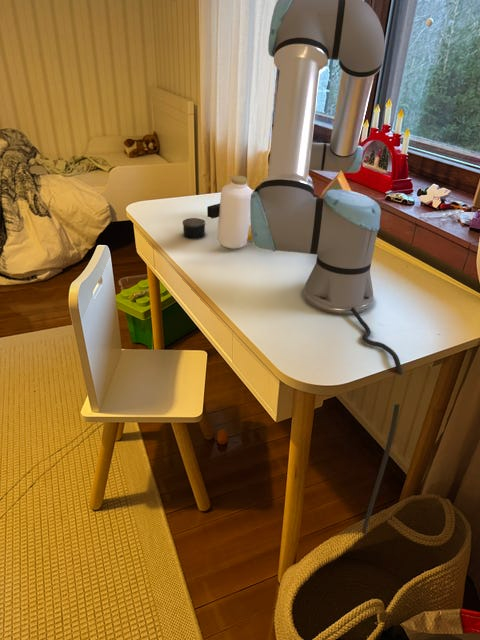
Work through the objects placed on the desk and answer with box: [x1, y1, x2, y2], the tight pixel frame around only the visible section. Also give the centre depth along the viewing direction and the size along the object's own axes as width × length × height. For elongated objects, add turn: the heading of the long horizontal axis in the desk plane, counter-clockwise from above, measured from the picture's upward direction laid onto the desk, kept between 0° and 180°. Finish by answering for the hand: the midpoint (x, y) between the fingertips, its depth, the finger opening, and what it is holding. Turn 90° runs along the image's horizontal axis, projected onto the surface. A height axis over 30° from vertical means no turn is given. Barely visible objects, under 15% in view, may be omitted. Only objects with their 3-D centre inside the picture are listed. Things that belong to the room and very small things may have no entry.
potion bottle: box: [216, 174, 254, 250], centre depth 124 cm, size 8×8×18 cm
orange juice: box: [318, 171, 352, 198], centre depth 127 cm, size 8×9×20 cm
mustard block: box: [247, 225, 253, 242], centre depth 137 cm, size 8×6×2 cm
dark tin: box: [182, 217, 206, 240], centre depth 135 cm, size 6×6×4 cm
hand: (209, 212), depth 123 cm, fingers closed on potion bottle
